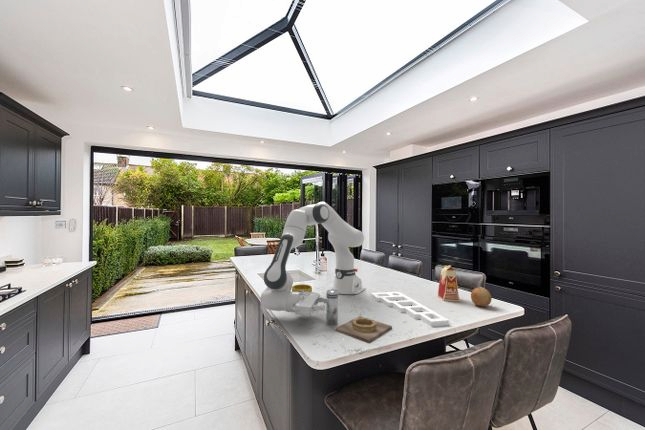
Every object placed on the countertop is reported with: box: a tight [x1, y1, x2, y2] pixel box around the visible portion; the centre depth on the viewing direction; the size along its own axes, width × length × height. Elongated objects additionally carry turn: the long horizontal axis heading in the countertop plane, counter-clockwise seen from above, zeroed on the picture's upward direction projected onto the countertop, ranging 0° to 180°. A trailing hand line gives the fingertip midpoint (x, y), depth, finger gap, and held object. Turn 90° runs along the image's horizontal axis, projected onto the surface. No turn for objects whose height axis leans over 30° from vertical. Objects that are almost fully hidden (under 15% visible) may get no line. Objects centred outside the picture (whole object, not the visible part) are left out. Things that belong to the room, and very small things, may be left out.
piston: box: [325, 288, 339, 326], centre depth 121 cm, size 5×5×14 cm
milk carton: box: [437, 264, 461, 302], centre depth 159 cm, size 9×9×20 cm
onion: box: [470, 286, 492, 308], centre depth 147 cm, size 10×10×10 cm
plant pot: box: [291, 283, 313, 292], centre depth 143 cm, size 10×10×10 cm
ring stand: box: [334, 316, 393, 344], centre depth 115 cm, size 18×16×3 cm
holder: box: [370, 291, 450, 327], centre depth 141 cm, size 45×18×3 cm, turn 13°
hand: (326, 304), depth 122 cm, fingers open, 8 cm apart
